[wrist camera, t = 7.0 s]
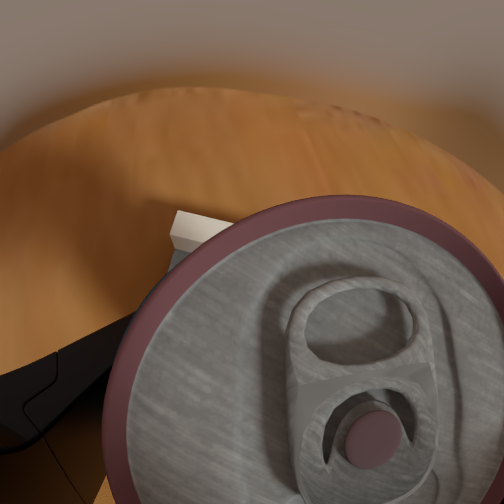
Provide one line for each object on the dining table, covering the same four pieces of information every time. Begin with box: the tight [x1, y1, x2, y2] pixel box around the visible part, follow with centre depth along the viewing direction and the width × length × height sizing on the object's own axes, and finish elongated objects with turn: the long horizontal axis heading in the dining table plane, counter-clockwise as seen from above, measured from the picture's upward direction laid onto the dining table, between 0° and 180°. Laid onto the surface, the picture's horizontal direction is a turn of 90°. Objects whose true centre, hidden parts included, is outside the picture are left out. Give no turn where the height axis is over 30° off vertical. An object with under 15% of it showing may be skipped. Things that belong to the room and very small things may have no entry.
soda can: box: [102, 195, 504, 504], centre depth 8 cm, size 7×7×12 cm
